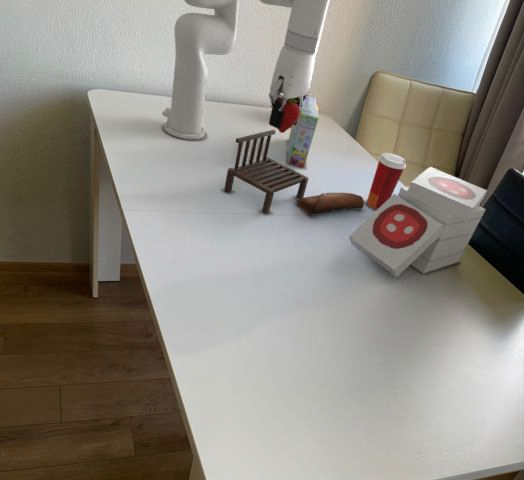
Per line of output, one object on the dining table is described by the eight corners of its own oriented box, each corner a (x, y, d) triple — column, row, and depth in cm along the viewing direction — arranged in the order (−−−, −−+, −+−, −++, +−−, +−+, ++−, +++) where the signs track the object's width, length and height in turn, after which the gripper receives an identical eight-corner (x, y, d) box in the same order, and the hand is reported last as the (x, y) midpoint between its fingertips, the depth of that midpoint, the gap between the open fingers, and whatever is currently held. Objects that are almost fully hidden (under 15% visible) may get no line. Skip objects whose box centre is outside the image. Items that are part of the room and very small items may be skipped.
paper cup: (390, 205, 155) (409, 158, 146) (386, 215, 149) (405, 167, 140) (365, 196, 156) (382, 149, 147) (360, 205, 150) (377, 157, 141)
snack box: (305, 168, 162) (319, 118, 152) (287, 164, 161) (300, 113, 152) (303, 144, 178) (316, 96, 168) (287, 140, 177) (298, 92, 168)
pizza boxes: (338, 246, 129) (363, 175, 117) (414, 228, 146) (442, 165, 134) (396, 290, 119) (429, 217, 107) (470, 265, 136) (505, 200, 125)
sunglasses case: (343, 195, 151) (357, 181, 146) (352, 217, 150) (367, 204, 145) (293, 200, 142) (306, 186, 136) (303, 224, 141) (317, 210, 135)
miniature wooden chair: (224, 190, 138) (233, 138, 130) (263, 177, 150) (273, 128, 141) (266, 214, 134) (278, 161, 125) (302, 198, 145) (316, 149, 136)
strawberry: (282, 139, 127) (292, 95, 121) (262, 127, 131) (271, 84, 125) (299, 138, 131) (310, 95, 124) (280, 126, 134) (289, 84, 128)
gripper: (308, 36, 125) (290, 115, 137) (265, 38, 114) (249, 123, 125) (335, 46, 123) (314, 125, 134) (293, 49, 111) (274, 135, 122)
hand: (282, 124), depth 129 cm, fingers closed on strawberry, 6 cm apart
